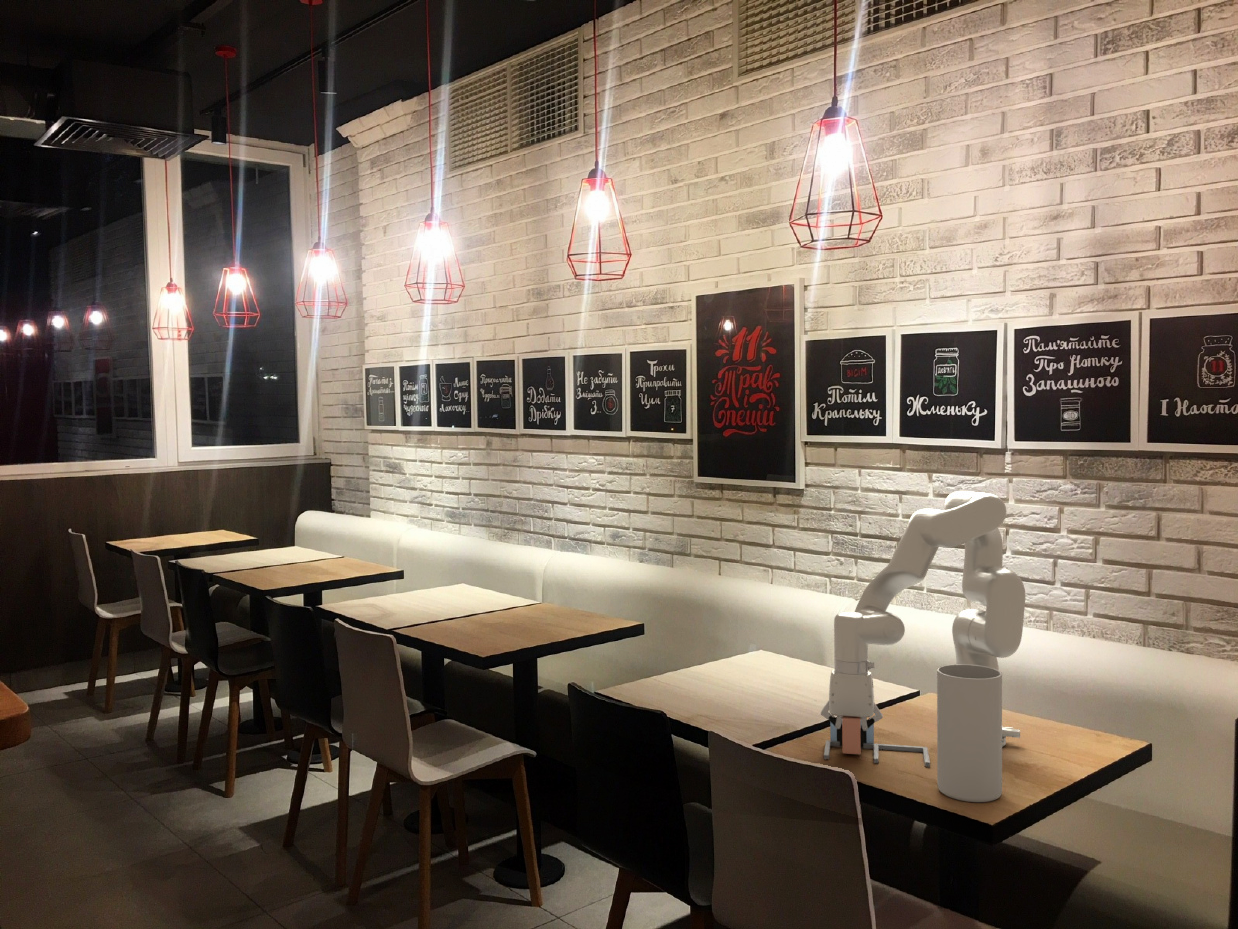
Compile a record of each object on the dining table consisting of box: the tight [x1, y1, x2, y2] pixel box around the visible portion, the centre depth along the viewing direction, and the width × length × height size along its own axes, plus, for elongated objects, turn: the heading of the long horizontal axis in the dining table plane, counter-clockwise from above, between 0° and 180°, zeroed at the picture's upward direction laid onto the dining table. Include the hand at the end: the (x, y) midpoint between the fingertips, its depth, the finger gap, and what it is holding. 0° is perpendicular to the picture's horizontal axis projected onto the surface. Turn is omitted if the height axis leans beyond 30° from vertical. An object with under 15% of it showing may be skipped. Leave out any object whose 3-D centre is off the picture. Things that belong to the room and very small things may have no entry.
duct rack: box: [823, 721, 931, 768], centre depth 223 cm, size 23×12×6 cm, turn 75°
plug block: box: [841, 716, 862, 755], centre depth 223 cm, size 4×5×8 cm
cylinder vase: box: [936, 663, 1003, 803], centre depth 199 cm, size 12×12×25 cm
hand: (851, 744), depth 224 cm, fingers closed on plug block, 4 cm apart
